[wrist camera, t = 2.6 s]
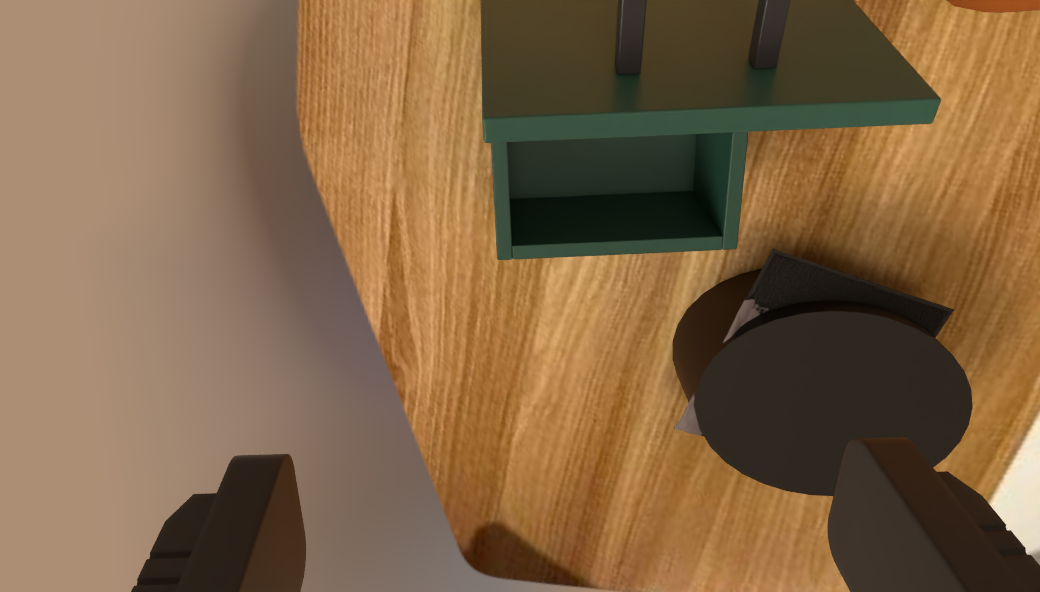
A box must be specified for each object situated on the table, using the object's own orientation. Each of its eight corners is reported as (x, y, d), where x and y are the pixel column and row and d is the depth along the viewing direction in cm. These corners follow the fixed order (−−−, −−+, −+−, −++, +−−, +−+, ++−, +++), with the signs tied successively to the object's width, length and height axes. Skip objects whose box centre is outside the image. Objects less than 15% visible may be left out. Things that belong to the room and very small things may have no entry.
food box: (701, 198, 49) (737, 249, 42) (496, 207, 48) (497, 260, 41) (722, -85, 41) (769, -79, 35) (481, -75, 41) (480, -68, 34)
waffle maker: (849, 456, 59) (903, 526, 53) (634, 399, 55) (664, 468, 48) (959, 290, 54) (1034, 345, 47) (730, 211, 49) (778, 260, 43)
